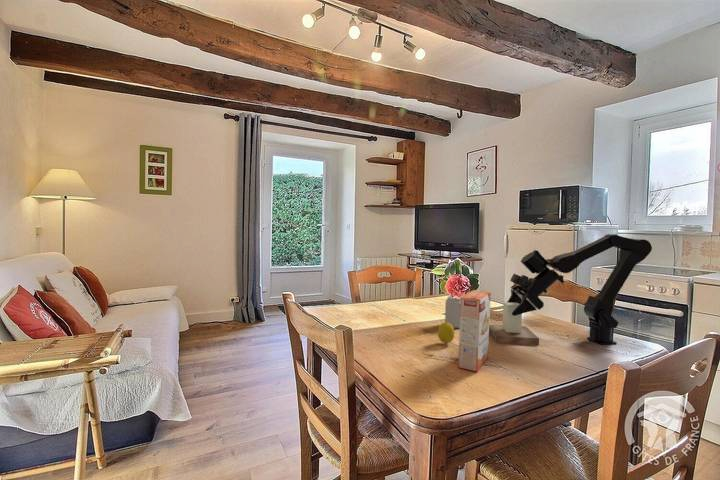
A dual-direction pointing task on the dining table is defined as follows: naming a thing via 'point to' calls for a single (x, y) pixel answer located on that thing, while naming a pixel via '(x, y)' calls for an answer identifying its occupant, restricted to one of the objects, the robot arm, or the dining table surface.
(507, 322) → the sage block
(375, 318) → the dining table surface
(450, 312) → the can
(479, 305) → the cracker box
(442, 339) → the lemon
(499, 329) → the brown flat square slab
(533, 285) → the robot arm
